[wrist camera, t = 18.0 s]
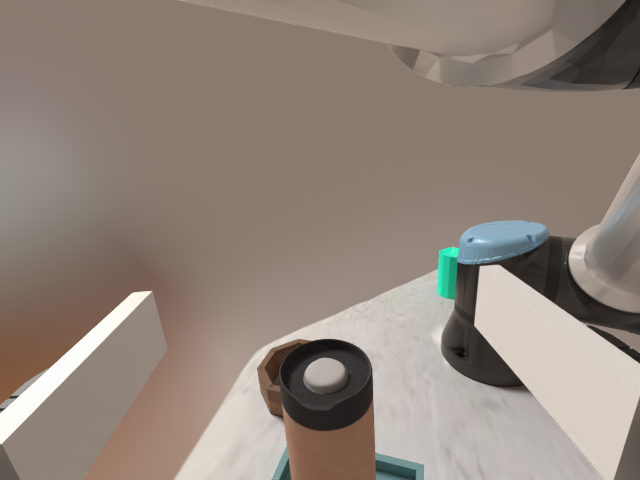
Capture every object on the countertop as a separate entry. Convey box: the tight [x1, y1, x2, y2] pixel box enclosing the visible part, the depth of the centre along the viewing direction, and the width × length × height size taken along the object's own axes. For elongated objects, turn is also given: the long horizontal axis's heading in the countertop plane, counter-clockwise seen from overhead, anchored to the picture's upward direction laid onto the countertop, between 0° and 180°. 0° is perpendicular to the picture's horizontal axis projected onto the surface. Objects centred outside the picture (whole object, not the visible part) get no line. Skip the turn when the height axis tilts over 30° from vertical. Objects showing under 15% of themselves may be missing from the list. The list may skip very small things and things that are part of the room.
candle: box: [437, 246, 459, 299], centre depth 76 cm, size 6×6×12 cm
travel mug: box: [279, 339, 376, 480], centre depth 29 cm, size 8×8×20 cm
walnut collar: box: [257, 339, 311, 417], centre depth 51 cm, size 12×12×4 cm
